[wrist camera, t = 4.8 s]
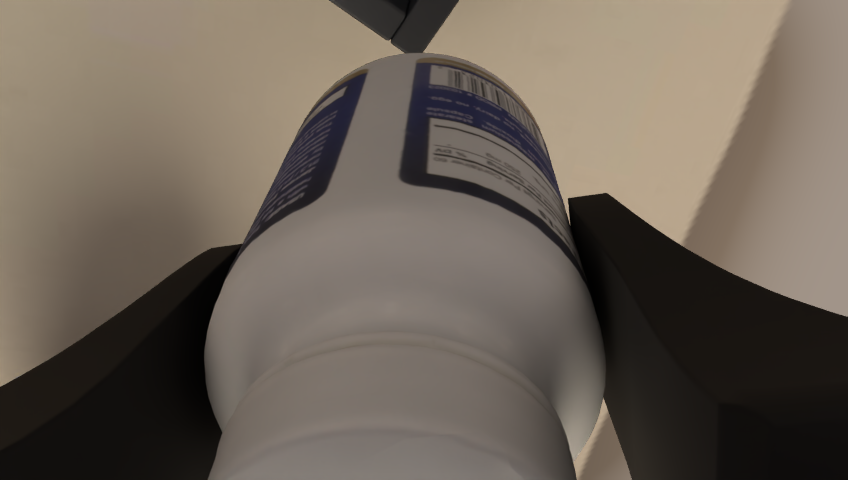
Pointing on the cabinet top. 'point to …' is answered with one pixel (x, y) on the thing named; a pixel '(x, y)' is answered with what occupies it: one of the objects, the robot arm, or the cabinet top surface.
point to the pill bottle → (408, 294)
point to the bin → (401, 19)
